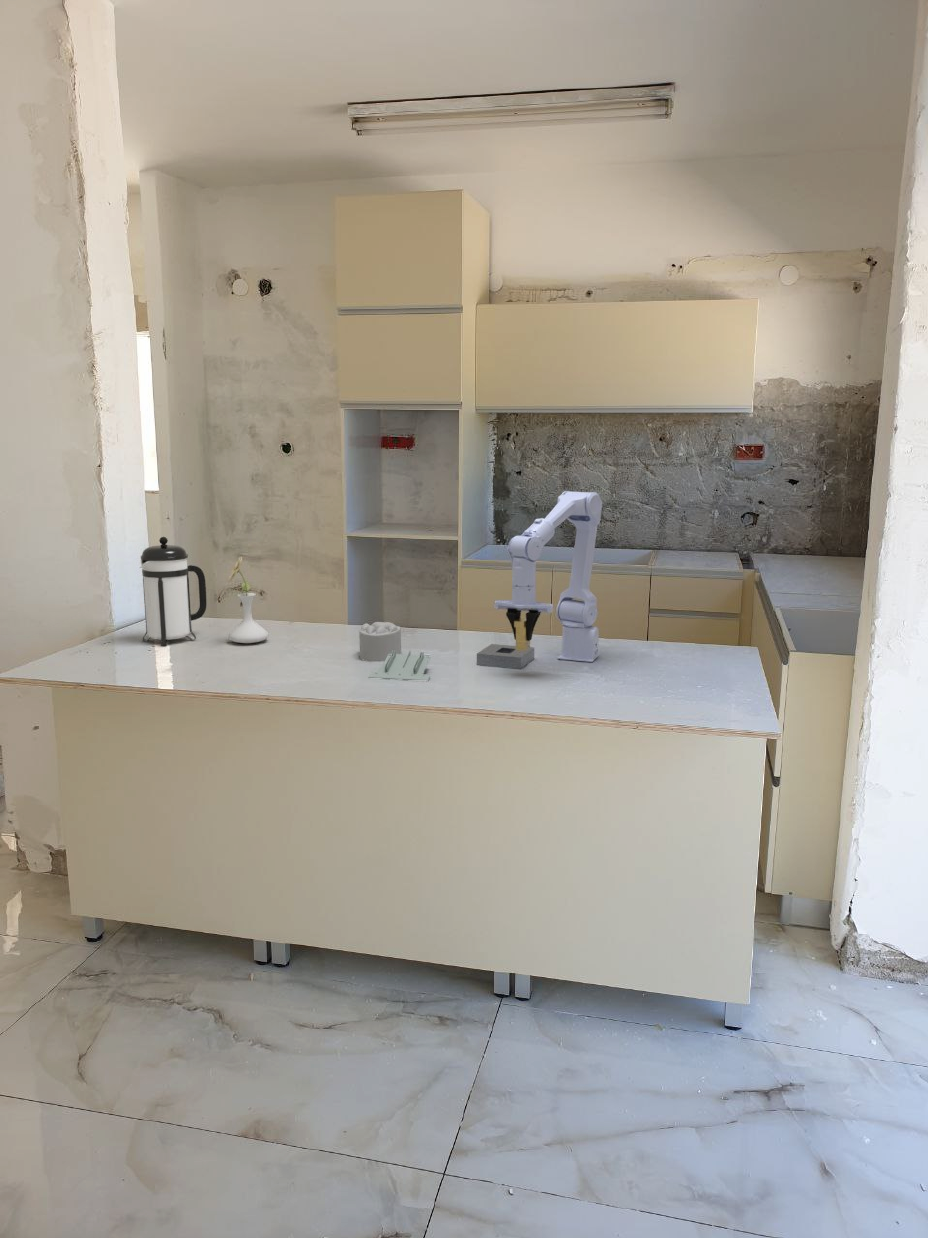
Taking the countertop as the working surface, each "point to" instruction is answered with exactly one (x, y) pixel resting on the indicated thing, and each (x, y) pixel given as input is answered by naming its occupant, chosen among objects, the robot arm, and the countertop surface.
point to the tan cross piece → (521, 634)
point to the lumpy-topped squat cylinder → (379, 640)
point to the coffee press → (169, 592)
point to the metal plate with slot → (505, 656)
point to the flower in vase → (246, 616)
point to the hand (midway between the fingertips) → (523, 639)
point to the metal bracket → (403, 667)
